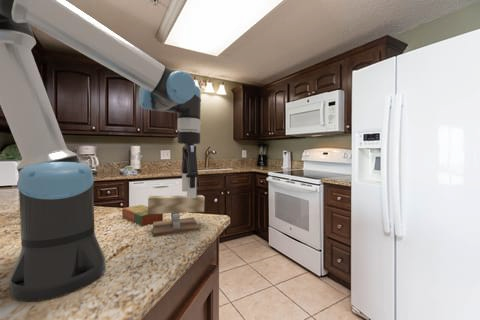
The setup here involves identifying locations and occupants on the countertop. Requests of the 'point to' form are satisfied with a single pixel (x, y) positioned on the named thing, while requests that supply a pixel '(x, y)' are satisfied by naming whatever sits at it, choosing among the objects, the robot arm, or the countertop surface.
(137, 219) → the carton
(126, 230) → the countertop surface
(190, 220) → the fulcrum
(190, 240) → the countertop surface
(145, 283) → the countertop surface
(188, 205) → the beam
